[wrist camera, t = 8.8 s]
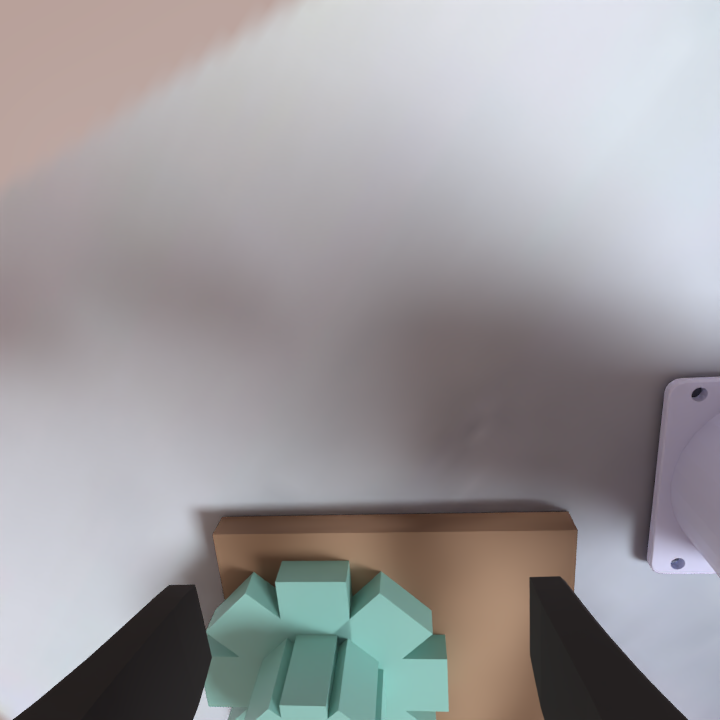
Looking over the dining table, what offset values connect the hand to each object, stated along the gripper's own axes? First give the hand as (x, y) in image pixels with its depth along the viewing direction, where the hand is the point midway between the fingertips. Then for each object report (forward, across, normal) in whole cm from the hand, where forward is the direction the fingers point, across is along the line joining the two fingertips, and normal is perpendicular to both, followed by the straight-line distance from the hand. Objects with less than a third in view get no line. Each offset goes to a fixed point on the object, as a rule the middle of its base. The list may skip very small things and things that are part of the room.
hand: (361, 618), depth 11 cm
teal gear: (+8, +3, +10) cm, 14 cm away
